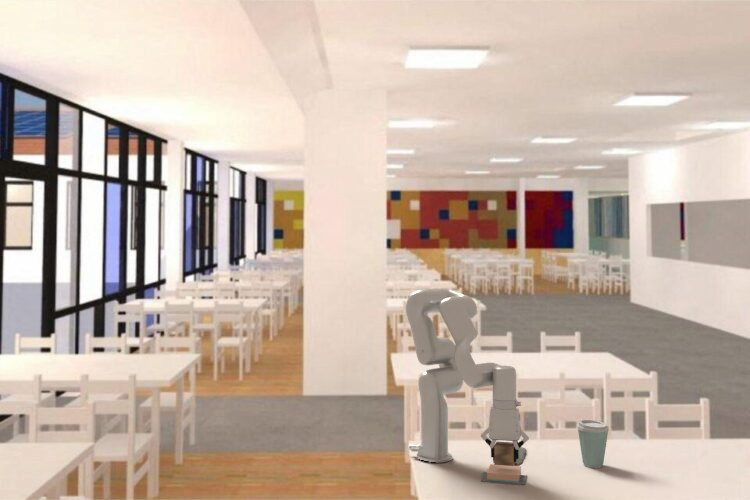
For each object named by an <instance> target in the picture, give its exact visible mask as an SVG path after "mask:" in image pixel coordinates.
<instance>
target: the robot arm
mask: <svg viewBox="0 0 750 500" xmlns="http://www.w3.org/2000/svg"><path fill="white" fill-rule="evenodd" d="M477 308H478V307H477V304H476V302H475V301H474V299H473V298H472V297H470V296H469V295H466V294H463V293H461V292H460V293H459V292H457V291H454V290H451V289H448V288H425V289H424V288H423V289H418V290H415V291H414V292H412V293H410V295H409V296H408V298H407V300H406V303H405V313H406V317H407V321H408V324H409V325H410V329H411V334H412V339H413V345H414V349H415V353H416V357H417V360H418V362H419V364H420V365H422V366H435V365H436V366H437V365H438V367H435V368H431V369H426V370H425V371H423V372H422V373H421V374H420V376H419V377H418V381H417V385H418V390H419V391H418V392H419V394H420V395H419V397H420V415H421V416H420V417H421V418H420V441H421V442H420V444H416V445H415V444H409V448H408V449H409V451H411V452H417V454H416V458H418V459H417V460H419V459H420V460H419V461H421V460H424V461H429V462H428V463H431V462H436V463H435V464H437V463H438V464H439V463H446V462H449V461H452V460H453V454H452V453H450V452H449V407H448V404H447V401H446V398H445V395H448V394H449V395H450V394H454V393H456V392H460V390H461V389H462V387H463V384H464V383H465V384H466V385H467V386H468V387H469V388H472V389H480V388H483V387H489V386H492V407H490V411H489V418H488V427H487V428H486V429H485V430H484V431H482V433H481V434H480V438H481V439H482V440H483V441H484V442H485V443H486V444H487V445H488V446H489V448H490V458H492V462H493V461H494V446H495V443H496V441H505V442H513V444H514V462H516V460H517V459H518V458H519V448H520V447H522V446H523V445H525V443H526V442H528V441H529V439H530V437H529V436H528V435H527V434H526V432H525V431H524V430H523V429H522V425H521V424H522V423H521V414H520V410H519V408H518V407H521V405H522V404H521V403H522V402H521V401H519V400H517V370H516V368H515V367H513V366H511V365H502V364H499V363H495V362H484V363H475V360H474V358H473V356H472V354H471V350H470V347H471V343H472V342H474V341H475V339H477V337H478V336H479V335H478V334H479V332H478V330H477V328H476V326H475V324H474V322H473V321H472V319H473V318H474V317H475V316H476V315H477V311H478V309H477ZM430 313H439V314H440V315H441V318H442V320H443V322H444V323H445V326H446V327H447V330H448V331H449V334H450V335H451V337H452V339H453V341H452V340H451V339H450V338H448V337H444V336H443V337H442V336H441V337H438V335H437V331H436V327H435V324H434V322H433V320H432V318H431V317H430V316H429V315H428V314H430ZM487 435H488V436H487ZM520 438H522V439H520ZM519 440H520V441H519ZM424 461H423V462H424Z"/></svg>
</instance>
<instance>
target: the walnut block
mask: <svg viewBox="0 0 750 500" xmlns="http://www.w3.org/2000/svg"><path fill="white" fill-rule="evenodd" d="M514 463H515V462H514V444H513V442H512V441H498V440H496V442H495V446H494V462H493V464H494V465H505V466H515V465H514Z"/></svg>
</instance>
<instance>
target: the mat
mask: <svg viewBox="0 0 750 500" xmlns="http://www.w3.org/2000/svg"><path fill="white" fill-rule="evenodd" d="M487 472H488V471H483V472H482V473H483V474H482V476H481V479H480V482H481V483H482V482H483V483H484V482H485V483H495V484H505V485H506V484H507V485H520V486H526V483H527V479H528V475H527V474H526V475H525V474H521V476H520V480H519V483H514V482H502V481H491V480H487Z"/></svg>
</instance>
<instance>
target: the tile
mask: <svg viewBox="0 0 750 500" xmlns="http://www.w3.org/2000/svg"><path fill="white" fill-rule="evenodd" d="M486 472H487V480H491V481H502V482H514V483H519V480H520V476H521V475H522V466H520V465H519V466H517V465H514V466H505V465H494V463H490V464H489V466H488V469H487V471H486Z"/></svg>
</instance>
